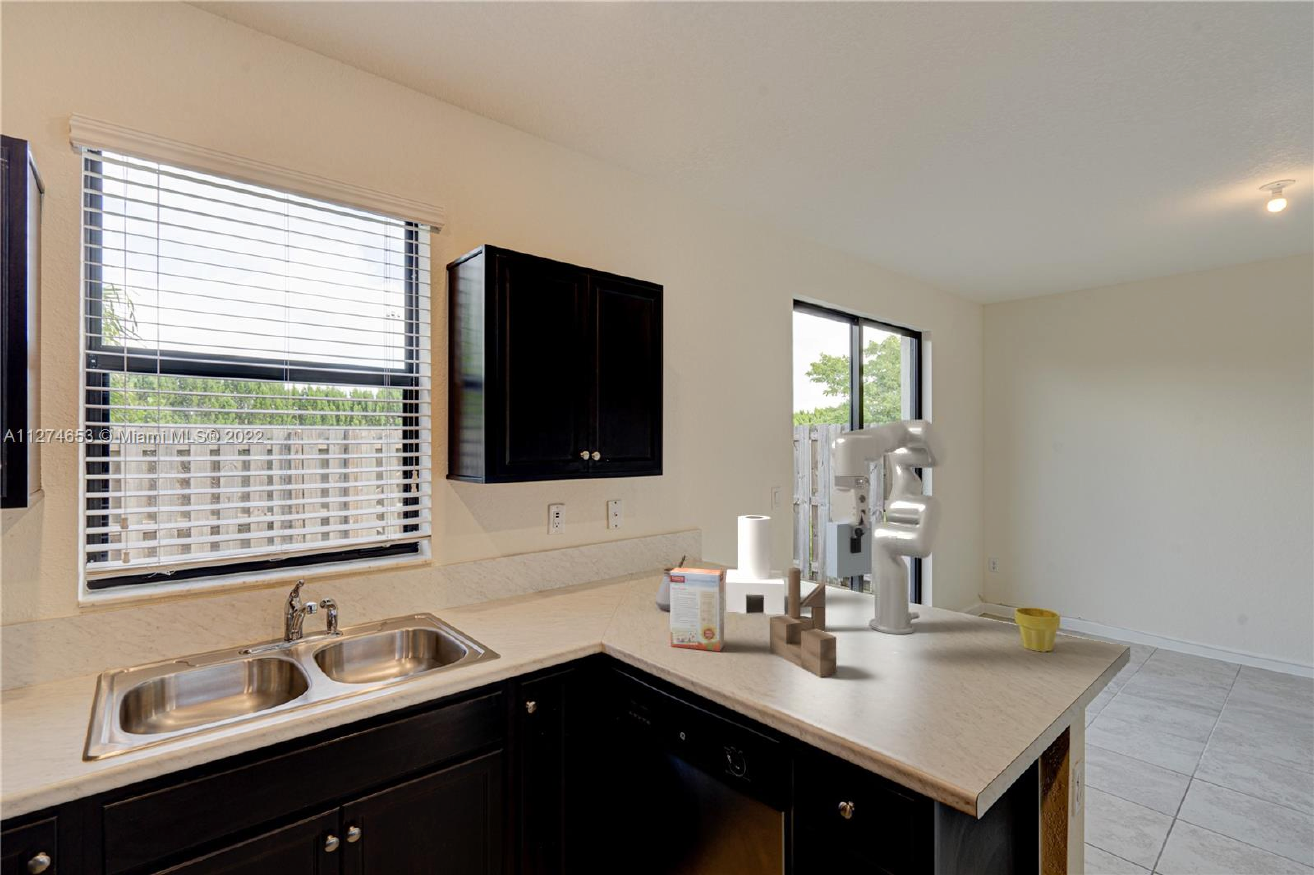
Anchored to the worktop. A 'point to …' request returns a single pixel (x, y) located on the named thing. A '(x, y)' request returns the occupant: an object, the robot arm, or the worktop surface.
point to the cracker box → (697, 608)
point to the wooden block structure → (806, 602)
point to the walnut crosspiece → (803, 646)
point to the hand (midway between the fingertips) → (849, 550)
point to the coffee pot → (666, 588)
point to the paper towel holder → (754, 568)
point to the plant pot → (1037, 627)
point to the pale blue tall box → (847, 551)
